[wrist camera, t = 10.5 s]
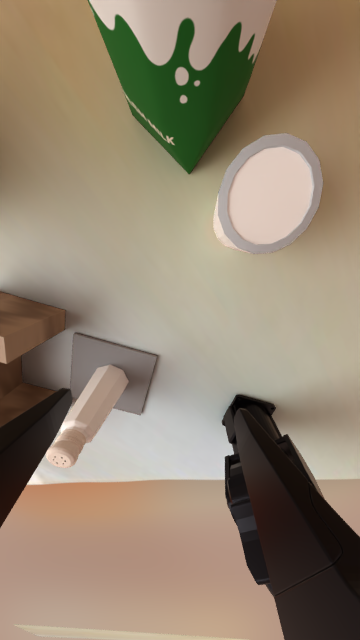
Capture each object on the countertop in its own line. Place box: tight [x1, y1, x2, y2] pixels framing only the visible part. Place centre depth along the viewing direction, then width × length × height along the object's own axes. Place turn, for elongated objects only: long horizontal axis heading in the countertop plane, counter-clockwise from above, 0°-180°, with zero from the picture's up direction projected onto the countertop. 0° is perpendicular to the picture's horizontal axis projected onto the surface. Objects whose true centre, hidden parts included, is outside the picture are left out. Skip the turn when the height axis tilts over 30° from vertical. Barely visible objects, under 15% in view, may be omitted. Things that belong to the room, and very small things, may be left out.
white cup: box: [214, 133, 323, 254], centre depth 14 cm, size 7×7×7 cm
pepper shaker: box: [46, 365, 129, 468], centre depth 21 cm, size 5×5×11 cm
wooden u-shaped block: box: [0, 292, 65, 427], centre depth 22 cm, size 10×18×8 cm, turn 163°
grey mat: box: [70, 333, 157, 415], centre depth 26 cm, size 12×12×1 cm
